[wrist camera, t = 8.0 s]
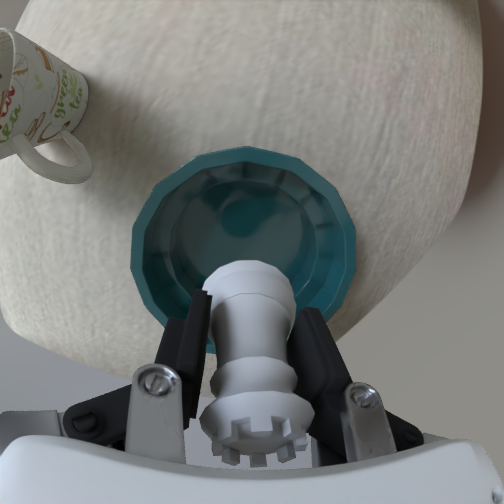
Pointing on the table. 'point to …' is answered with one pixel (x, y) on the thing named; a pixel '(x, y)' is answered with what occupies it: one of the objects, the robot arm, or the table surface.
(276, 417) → the rook chess piece
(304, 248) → the bowl
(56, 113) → the mug
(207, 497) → the robot arm
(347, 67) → the table surface
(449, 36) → the table surface
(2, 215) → the table surface
